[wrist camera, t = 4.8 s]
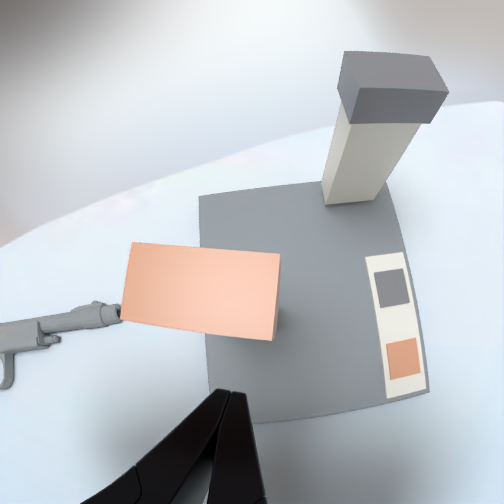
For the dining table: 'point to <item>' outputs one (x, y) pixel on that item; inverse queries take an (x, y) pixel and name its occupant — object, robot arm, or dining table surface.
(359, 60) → the lever
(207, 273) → the lever
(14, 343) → the handgun
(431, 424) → the dining table surface
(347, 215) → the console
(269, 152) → the dining table surface
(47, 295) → the dining table surface
